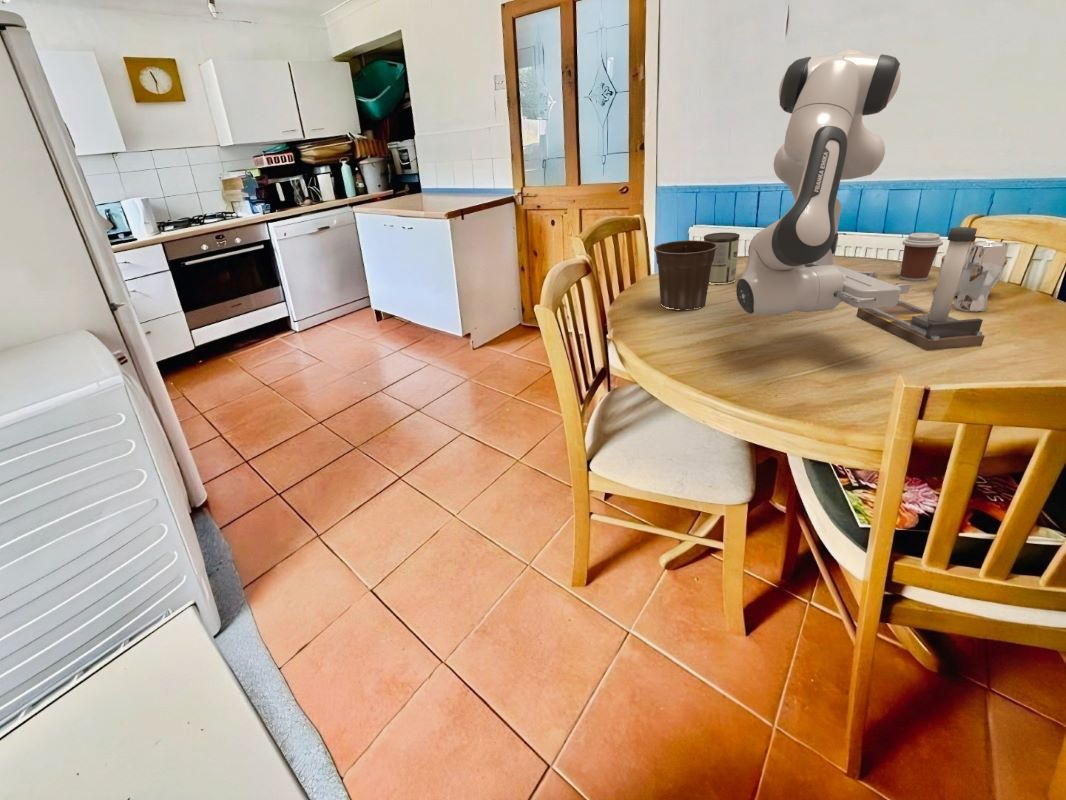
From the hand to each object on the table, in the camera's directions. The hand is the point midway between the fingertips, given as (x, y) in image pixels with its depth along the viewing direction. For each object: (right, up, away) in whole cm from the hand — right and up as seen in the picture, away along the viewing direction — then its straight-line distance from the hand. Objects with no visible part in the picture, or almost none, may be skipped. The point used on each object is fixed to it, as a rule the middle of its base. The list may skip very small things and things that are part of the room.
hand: (890, 281), depth 100 cm
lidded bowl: (+39, +4, +29) cm, 49 cm away
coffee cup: (+38, +11, +44) cm, 60 cm away
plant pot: (-30, +3, +41) cm, 50 cm away
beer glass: (+32, -2, +19) cm, 38 cm away
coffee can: (-13, +14, +59) cm, 62 cm away
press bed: (+13, -8, +11) cm, 18 cm away
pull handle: (+13, -8, +5) cm, 16 cm away
